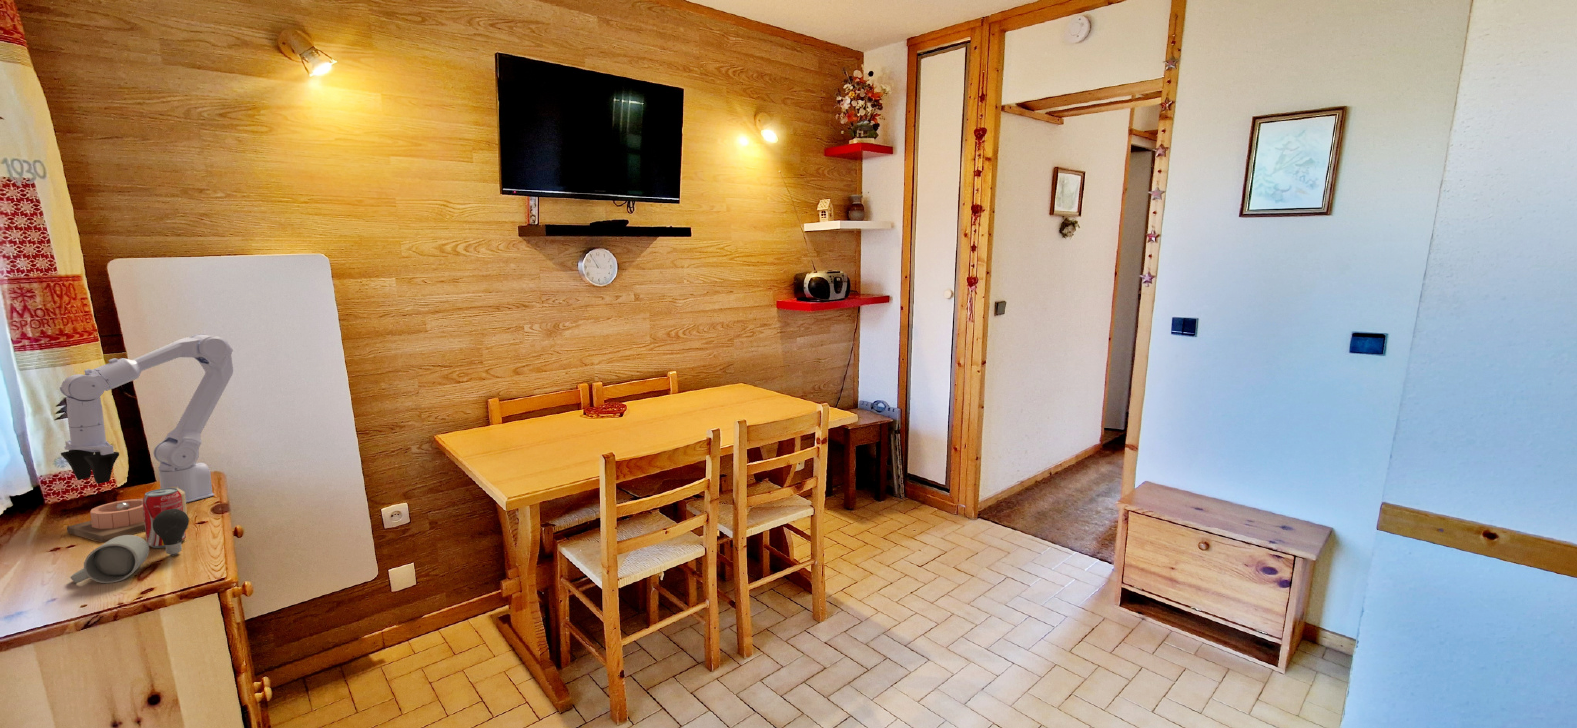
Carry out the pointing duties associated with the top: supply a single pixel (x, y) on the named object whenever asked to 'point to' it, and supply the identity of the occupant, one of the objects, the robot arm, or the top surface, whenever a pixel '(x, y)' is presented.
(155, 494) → the soda can
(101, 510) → the coral ring
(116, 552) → the ceramic mug
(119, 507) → the hook peg
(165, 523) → the light bulb
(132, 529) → the hook board
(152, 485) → the top surface
